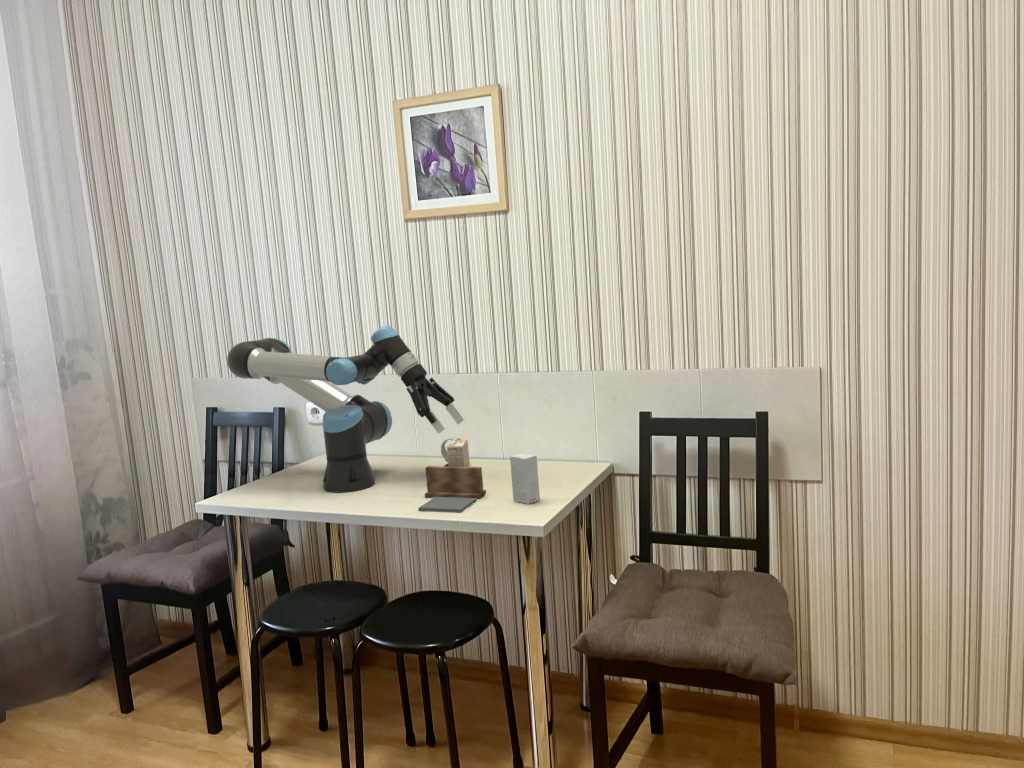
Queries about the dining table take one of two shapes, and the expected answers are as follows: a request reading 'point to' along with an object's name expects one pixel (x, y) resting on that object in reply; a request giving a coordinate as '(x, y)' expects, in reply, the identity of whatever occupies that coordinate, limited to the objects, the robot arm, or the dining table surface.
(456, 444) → the supplement box
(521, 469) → the skincare box
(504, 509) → the dining table surface
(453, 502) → the pad
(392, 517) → the dining table surface
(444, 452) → the watch
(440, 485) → the stepped wooden ledge
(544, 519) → the dining table surface
